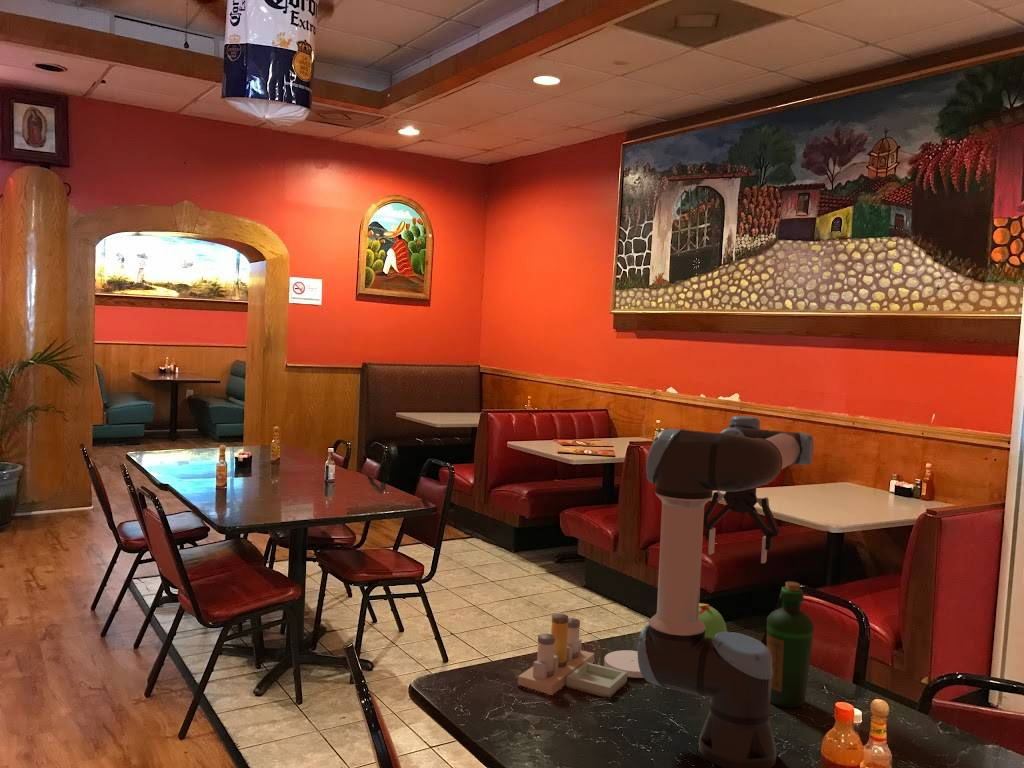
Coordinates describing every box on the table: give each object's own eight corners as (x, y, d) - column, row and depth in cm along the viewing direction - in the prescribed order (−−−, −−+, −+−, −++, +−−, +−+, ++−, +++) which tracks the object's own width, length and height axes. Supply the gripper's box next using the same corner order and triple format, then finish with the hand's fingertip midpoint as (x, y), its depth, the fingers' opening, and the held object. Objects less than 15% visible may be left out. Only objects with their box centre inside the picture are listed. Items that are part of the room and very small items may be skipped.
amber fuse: (561, 668, 204) (563, 620, 204) (546, 665, 206) (549, 617, 206) (568, 663, 208) (571, 615, 207) (554, 660, 210) (556, 612, 209)
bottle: (767, 688, 204) (774, 574, 203) (813, 699, 199) (821, 582, 197) (756, 703, 195) (763, 584, 194) (803, 715, 190) (811, 593, 188)
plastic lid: (594, 663, 216) (594, 653, 216) (641, 657, 222) (641, 647, 222) (621, 684, 203) (622, 674, 203) (670, 677, 209) (671, 667, 209)
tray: (608, 698, 195) (609, 687, 194) (566, 686, 200) (566, 676, 200) (626, 682, 204) (627, 672, 204) (585, 671, 210) (585, 661, 209)
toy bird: (717, 674, 212) (720, 616, 211) (652, 660, 219) (655, 605, 218) (730, 651, 228) (733, 597, 227) (669, 639, 235) (672, 587, 234)
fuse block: (551, 695, 195) (554, 647, 194) (517, 686, 199) (519, 638, 198) (594, 663, 215) (596, 618, 215) (562, 655, 220) (564, 611, 219)
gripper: (794, 480, 214) (789, 562, 215) (698, 469, 226) (694, 547, 228) (788, 484, 208) (783, 569, 209) (690, 472, 220) (685, 552, 221)
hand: (737, 557), depth 218 cm, fingers open, 13 cm apart
